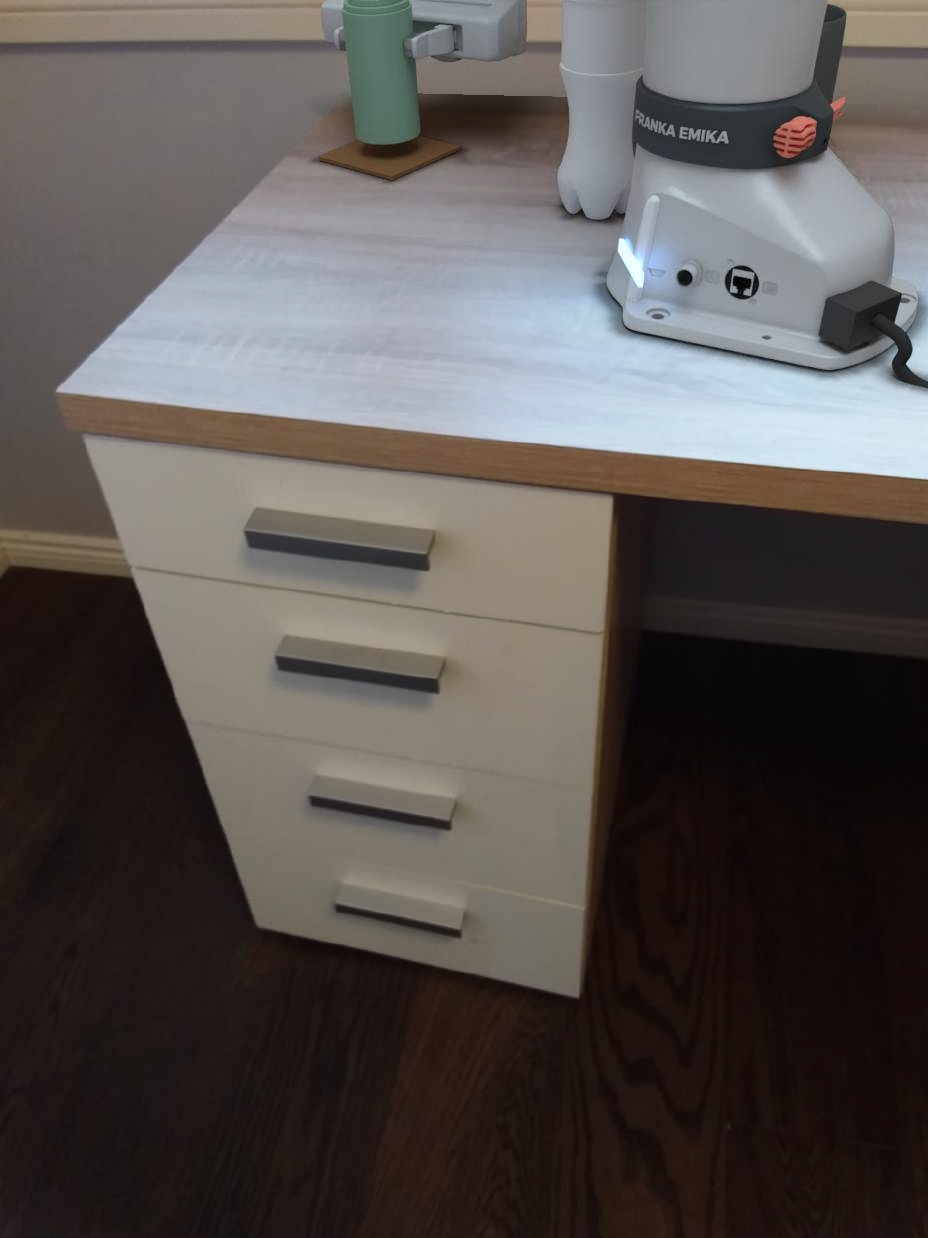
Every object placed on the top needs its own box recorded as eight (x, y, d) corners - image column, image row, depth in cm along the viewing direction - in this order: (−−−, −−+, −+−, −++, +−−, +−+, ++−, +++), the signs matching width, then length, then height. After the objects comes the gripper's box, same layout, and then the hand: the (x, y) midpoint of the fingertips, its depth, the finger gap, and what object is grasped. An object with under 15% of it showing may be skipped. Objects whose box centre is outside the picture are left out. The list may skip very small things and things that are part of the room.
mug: (839, 151, 97) (867, 7, 88) (790, 180, 92) (815, 30, 84) (715, 125, 104) (731, -11, 95) (664, 150, 99) (676, 9, 91)
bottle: (434, 130, 100) (422, -52, 90) (389, 149, 97) (372, -38, 86) (386, 118, 103) (370, -58, 93) (342, 137, 100) (320, -45, 89)
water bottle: (638, 192, 91) (663, -156, 74) (640, 224, 86) (668, -143, 69) (557, 193, 92) (564, -152, 75) (555, 224, 87) (562, -139, 70)
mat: (460, 149, 101) (460, 145, 101) (392, 180, 96) (392, 175, 96) (387, 132, 106) (387, 128, 106) (319, 160, 101) (318, 156, 101)
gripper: (362, -34, 104) (280, -3, 96) (540, -20, 96) (467, 15, 88) (369, 35, 109) (291, 71, 100) (539, 53, 101) (470, 94, 92)
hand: (375, 45), depth 94 cm, fingers closed on bottle, 6 cm apart
